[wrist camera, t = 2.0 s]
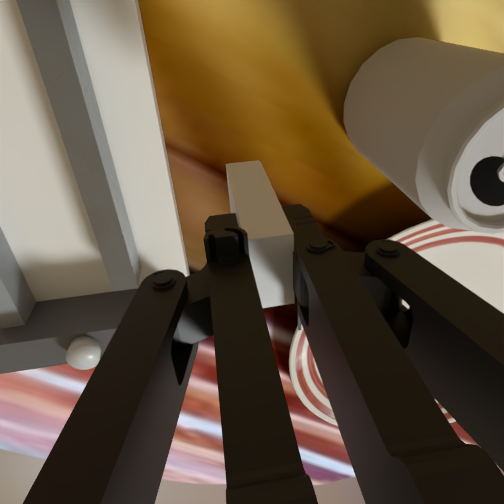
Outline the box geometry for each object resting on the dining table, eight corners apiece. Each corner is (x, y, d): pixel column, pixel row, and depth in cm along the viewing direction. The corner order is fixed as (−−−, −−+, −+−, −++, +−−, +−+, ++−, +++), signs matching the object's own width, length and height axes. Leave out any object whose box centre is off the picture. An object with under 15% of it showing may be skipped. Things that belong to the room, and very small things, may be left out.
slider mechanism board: (-347, -235, 15) (-648, -363, 9) (91, -246, 16) (45, -365, 11) (-15, 323, 31) (-57, 394, 25) (193, 294, 32) (195, 355, 27)
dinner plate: (351, 441, 48) (361, 469, 45) (225, 304, 33) (229, 332, 31) (578, 336, 43) (606, 359, 40) (546, 120, 28) (585, 133, 26)
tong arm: (25, -30, 18) (5, -32, 16) (60, -32, 18) (46, -35, 16) (118, 270, 28) (112, 291, 26) (141, 266, 28) (138, 288, 26)
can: (315, 112, 25) (399, 190, 15) (403, 5, 23) (573, 16, 13) (387, 177, 29) (495, 275, 19) (472, 89, 26) (650, 149, 16)
